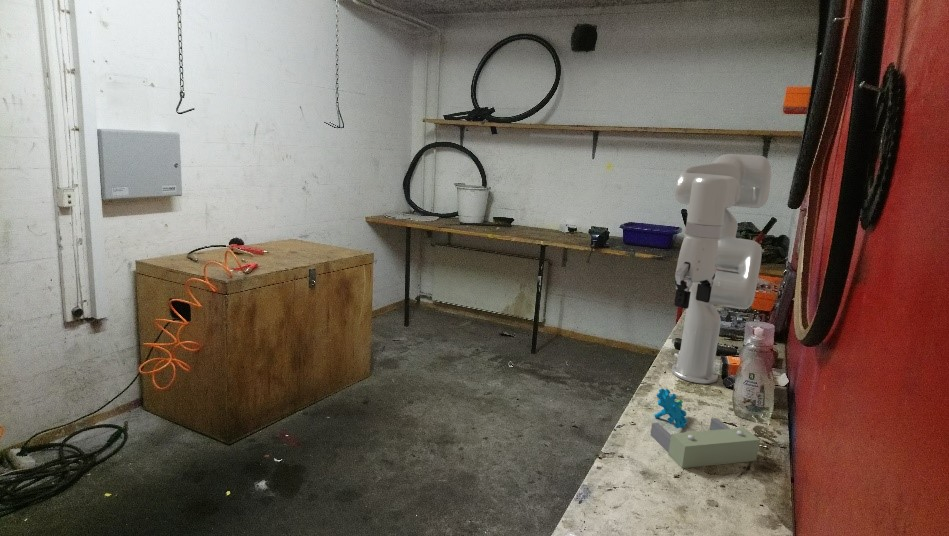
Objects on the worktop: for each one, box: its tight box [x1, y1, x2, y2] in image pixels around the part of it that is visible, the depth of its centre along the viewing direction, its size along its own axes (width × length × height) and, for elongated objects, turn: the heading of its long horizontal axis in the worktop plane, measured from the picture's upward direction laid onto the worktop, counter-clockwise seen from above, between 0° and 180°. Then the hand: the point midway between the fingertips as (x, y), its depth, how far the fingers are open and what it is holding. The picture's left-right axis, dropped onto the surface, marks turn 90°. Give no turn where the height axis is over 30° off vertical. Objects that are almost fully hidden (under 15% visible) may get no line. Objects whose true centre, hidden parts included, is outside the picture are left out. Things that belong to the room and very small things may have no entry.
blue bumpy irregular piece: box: [653, 388, 689, 429], centre depth 133 cm, size 11×6×10 cm
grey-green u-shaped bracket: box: [650, 417, 761, 469], centre depth 121 cm, size 13×18×6 cm
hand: (691, 304), depth 128 cm, fingers open, 9 cm apart
